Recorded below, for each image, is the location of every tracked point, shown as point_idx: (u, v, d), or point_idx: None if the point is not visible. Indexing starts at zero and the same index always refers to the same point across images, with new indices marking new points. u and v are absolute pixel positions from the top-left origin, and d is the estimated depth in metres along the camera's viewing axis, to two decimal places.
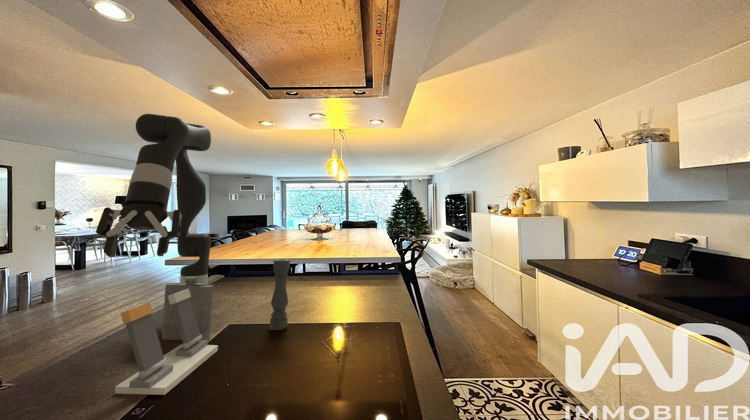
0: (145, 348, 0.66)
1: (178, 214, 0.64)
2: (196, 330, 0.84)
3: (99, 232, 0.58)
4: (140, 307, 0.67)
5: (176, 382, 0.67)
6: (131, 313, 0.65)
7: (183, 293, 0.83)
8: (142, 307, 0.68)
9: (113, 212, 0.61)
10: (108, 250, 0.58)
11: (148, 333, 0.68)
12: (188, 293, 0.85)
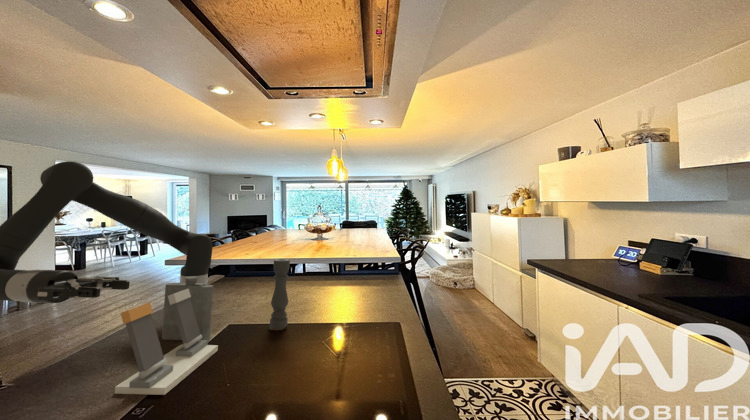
0: (145, 348, 0.66)
1: (42, 299, 0.60)
2: (196, 330, 0.84)
3: None
4: (140, 307, 0.67)
5: (176, 382, 0.67)
6: (131, 313, 0.65)
7: (183, 293, 0.83)
8: (142, 307, 0.68)
9: (94, 284, 0.72)
10: None
11: (148, 333, 0.68)
12: (188, 293, 0.85)
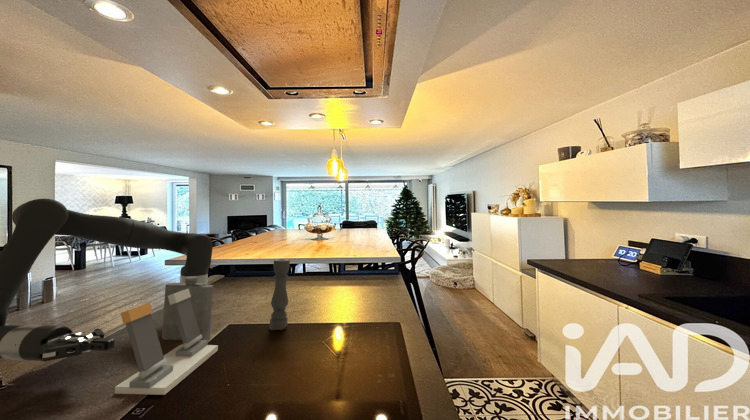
0: (145, 348, 0.66)
1: (50, 359, 0.61)
2: (196, 330, 0.84)
3: None
4: (140, 307, 0.67)
5: (176, 382, 0.67)
6: (131, 313, 0.65)
7: (183, 293, 0.83)
8: (142, 307, 0.68)
9: None
10: None
11: (148, 333, 0.68)
12: (188, 293, 0.85)
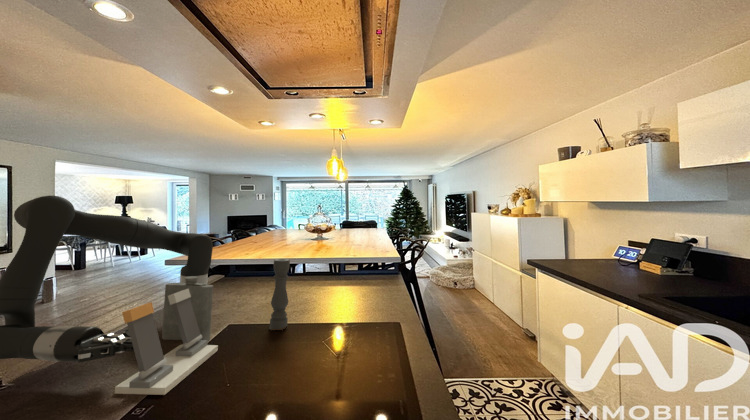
0: (146, 348, 0.66)
1: None
2: (196, 330, 0.84)
3: None
4: (142, 307, 0.67)
5: (176, 382, 0.67)
6: (133, 313, 0.65)
7: (183, 293, 0.83)
8: (144, 307, 0.68)
9: None
10: None
11: (149, 333, 0.68)
12: (188, 293, 0.85)
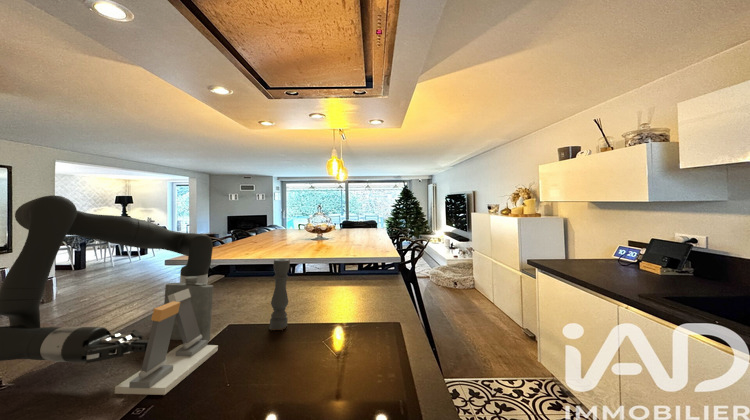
0: (156, 349, 0.66)
1: (93, 361, 0.61)
2: (196, 330, 0.84)
3: None
4: (171, 307, 0.67)
5: (176, 382, 0.67)
6: (162, 313, 0.65)
7: (183, 293, 0.83)
8: (173, 307, 0.68)
9: None
10: None
11: (165, 333, 0.68)
12: (188, 293, 0.85)
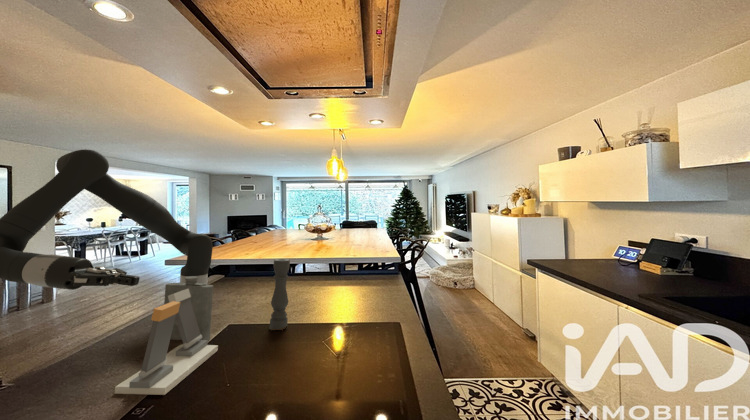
0: (156, 349, 0.66)
1: (80, 285, 0.64)
2: (196, 330, 0.84)
3: None
4: (171, 307, 0.67)
5: (176, 382, 0.67)
6: (162, 313, 0.65)
7: (183, 293, 0.83)
8: (173, 307, 0.68)
9: None
10: None
11: (165, 333, 0.68)
12: (188, 293, 0.85)
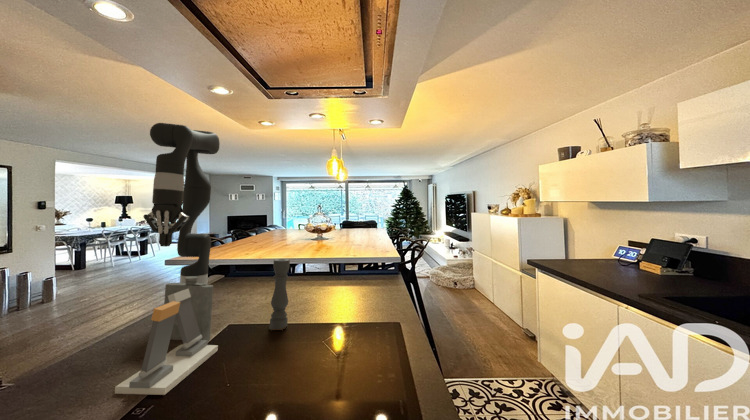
0: (156, 349, 0.66)
1: (182, 220, 0.84)
2: (196, 330, 0.84)
3: (154, 230, 0.84)
4: (171, 307, 0.67)
5: (176, 382, 0.67)
6: (162, 313, 0.65)
7: (183, 293, 0.83)
8: (173, 307, 0.68)
9: (150, 215, 0.85)
10: (161, 243, 0.84)
11: (165, 333, 0.68)
12: (188, 293, 0.85)
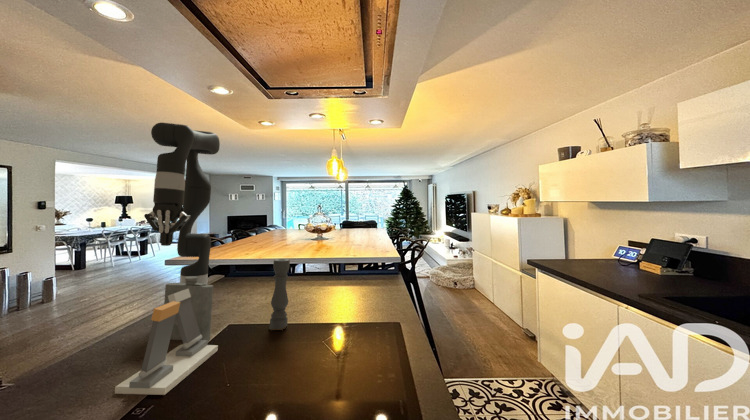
0: (156, 349, 0.66)
1: (183, 219, 0.85)
2: (196, 330, 0.84)
3: (155, 229, 0.84)
4: (171, 307, 0.67)
5: (176, 382, 0.67)
6: (162, 313, 0.65)
7: (183, 293, 0.83)
8: (173, 307, 0.68)
9: (151, 214, 0.85)
10: (162, 242, 0.84)
11: (165, 333, 0.68)
12: (188, 293, 0.85)
